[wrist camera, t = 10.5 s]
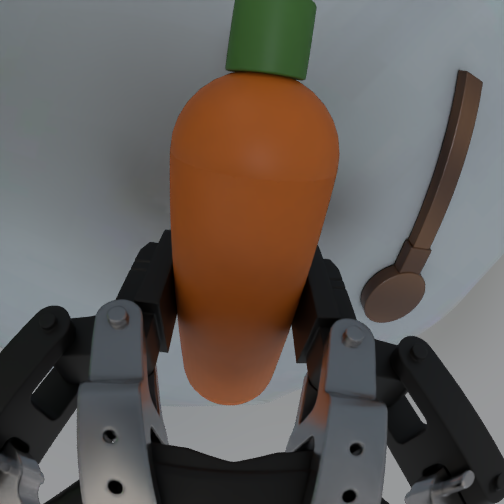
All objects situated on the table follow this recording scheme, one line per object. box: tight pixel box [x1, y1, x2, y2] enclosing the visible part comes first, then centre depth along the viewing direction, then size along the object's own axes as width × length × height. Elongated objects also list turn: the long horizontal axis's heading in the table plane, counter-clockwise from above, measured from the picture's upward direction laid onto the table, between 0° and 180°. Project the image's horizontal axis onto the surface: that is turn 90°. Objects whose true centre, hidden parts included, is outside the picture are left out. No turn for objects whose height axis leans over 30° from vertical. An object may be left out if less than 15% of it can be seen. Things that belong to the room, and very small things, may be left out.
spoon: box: [361, 70, 483, 323], centre depth 13 cm, size 18×5×1 cm, turn 173°
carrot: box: [170, 0, 339, 405], centre depth 8 cm, size 15×4×4 cm, turn 173°
